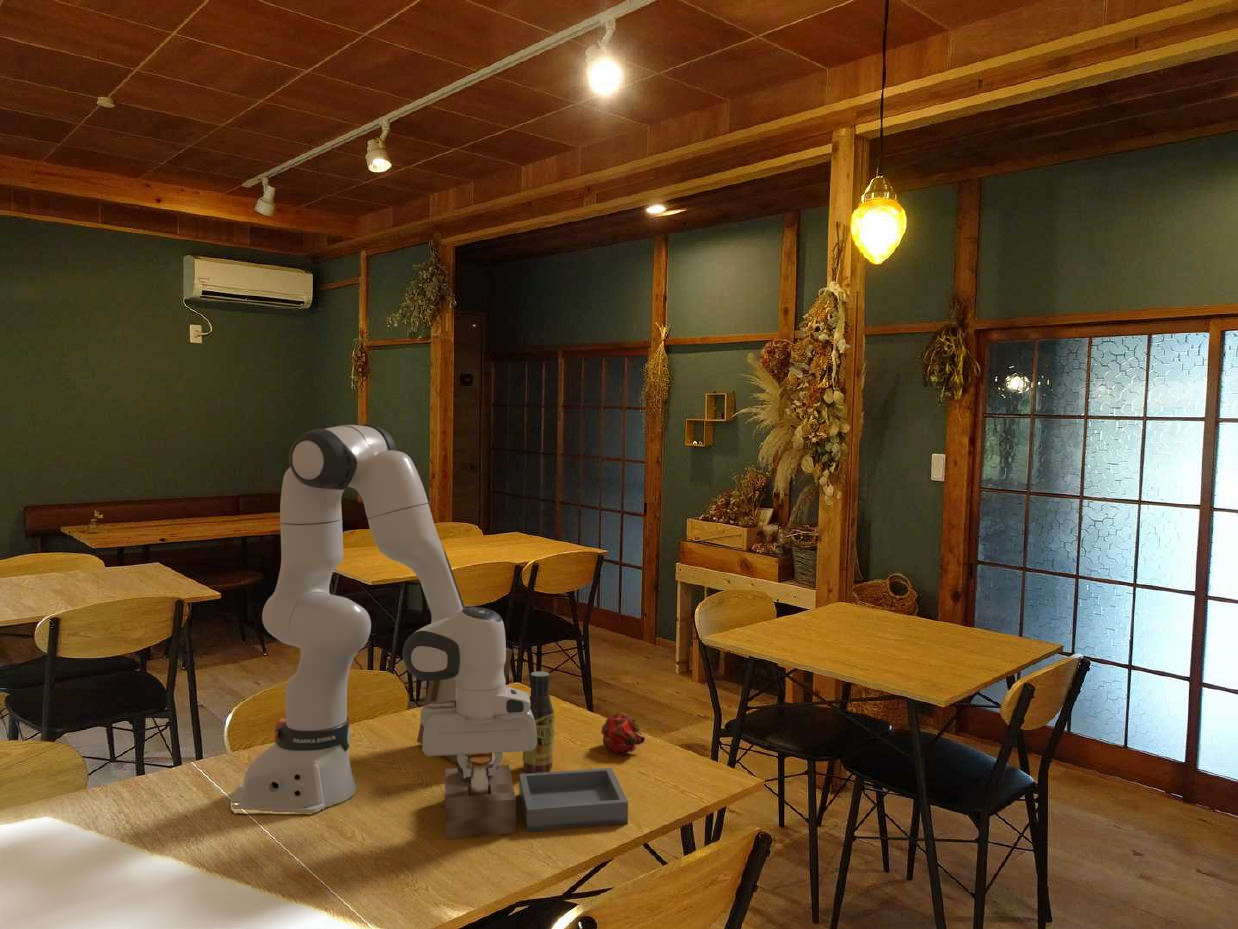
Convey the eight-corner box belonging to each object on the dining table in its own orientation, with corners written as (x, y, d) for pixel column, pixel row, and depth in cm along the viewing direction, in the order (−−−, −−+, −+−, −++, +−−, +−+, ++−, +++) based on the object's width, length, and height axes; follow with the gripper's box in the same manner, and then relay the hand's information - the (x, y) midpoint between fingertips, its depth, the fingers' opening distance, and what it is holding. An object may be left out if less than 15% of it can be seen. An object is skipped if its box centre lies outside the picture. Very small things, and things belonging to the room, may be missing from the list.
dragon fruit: (613, 746, 204) (633, 773, 193) (585, 729, 201) (604, 756, 190) (635, 715, 205) (657, 741, 194) (608, 698, 201) (628, 723, 190)
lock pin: (467, 827, 159) (467, 759, 159) (466, 816, 164) (466, 750, 163) (492, 825, 160) (492, 757, 160) (490, 815, 164) (491, 749, 164)
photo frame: (471, 775, 183) (472, 653, 182) (416, 746, 199) (417, 633, 198) (530, 758, 193) (531, 642, 192) (473, 731, 209) (475, 624, 208)
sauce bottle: (539, 777, 182) (539, 680, 181) (516, 770, 186) (516, 674, 185) (560, 767, 187) (560, 673, 186) (537, 760, 191) (538, 667, 190)
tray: (527, 832, 158) (527, 809, 158) (519, 794, 174) (519, 774, 174) (627, 824, 162) (628, 802, 162) (611, 787, 178) (611, 767, 177)
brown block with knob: (445, 839, 156) (445, 790, 155) (445, 800, 171) (445, 755, 171) (515, 833, 158) (515, 785, 157) (508, 795, 174) (508, 751, 173)
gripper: (420, 708, 156) (419, 787, 156) (538, 702, 160) (537, 779, 160) (420, 697, 162) (420, 773, 163) (535, 692, 166) (534, 766, 167)
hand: (479, 776), depth 161 cm, fingers closed on lock pin, 3 cm apart
